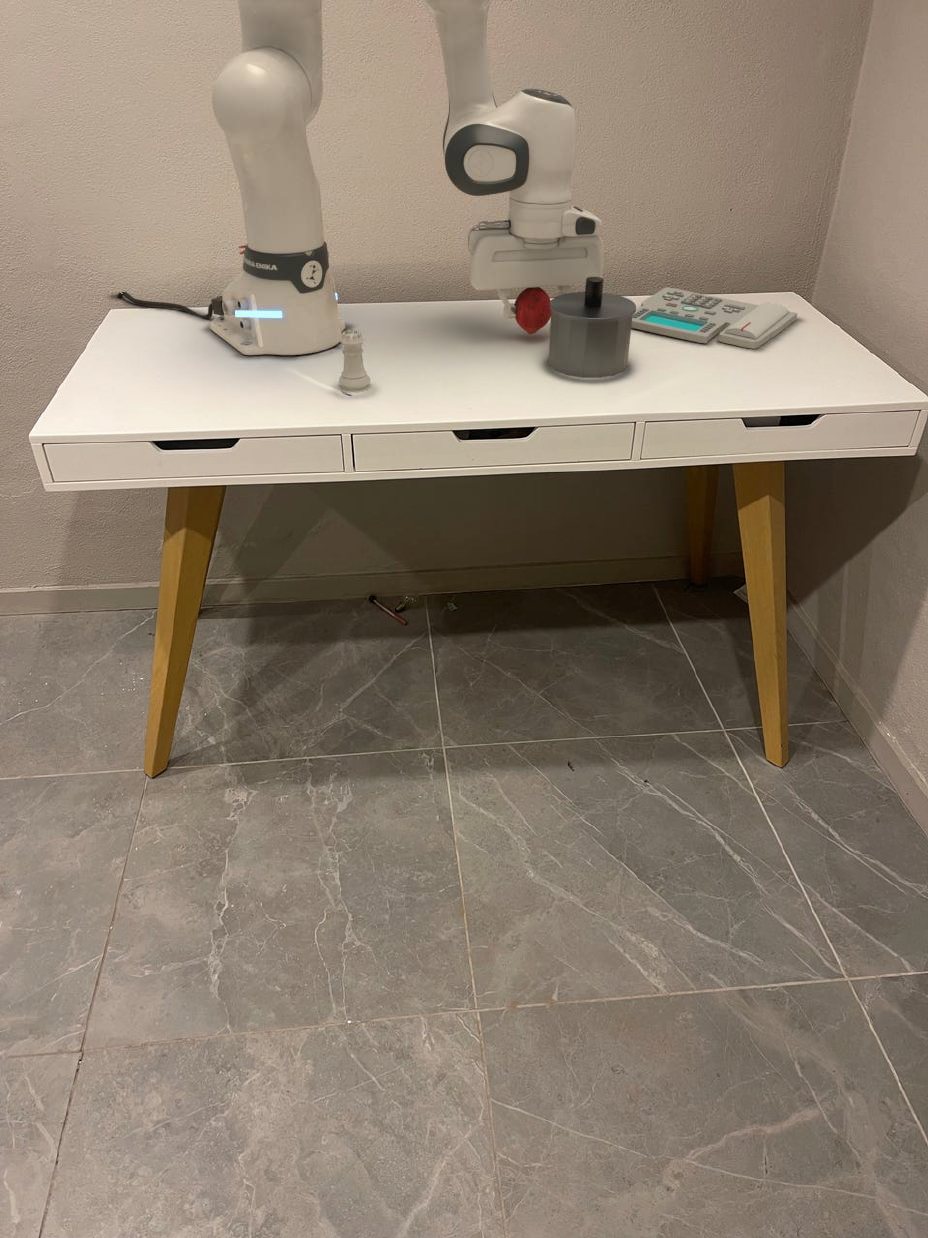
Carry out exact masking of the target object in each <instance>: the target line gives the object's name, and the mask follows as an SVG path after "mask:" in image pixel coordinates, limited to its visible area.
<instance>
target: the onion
mask: <svg viewBox="0 0 928 1238" xmlns="http://www.w3.org/2000/svg"><path fill="white" fill-rule="evenodd" d="M551 300H552V299H551V297H550V296H549V294H548V293H547V292H546V290H545V289H543V288H542V287H534V288H524V289H523V290H522V291H521V292H519V294H518V296H517V297H516V299H515V300H514V303H513V304H514V305H515V306H516V307H517V309H516V318H514V319H515V321H516V323H517V325H518V326H519V327H520V328H521V329H522V330H524V332H526V333H528V334H529V335H534V334H536V333H537V332H538V331H539V330H541V329H542V328H544V327H545V326H546V325H547V324H548V323H549V321H551V309H550V302H551Z"/></svg>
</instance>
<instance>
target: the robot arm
mask: <svg viewBox="0 0 928 1238" xmlns="http://www.w3.org/2000/svg"><path fill="white" fill-rule="evenodd" d="M491 1H492V0H422V2H423V5H424V6H425V8H426V9H427V11H428V13H429V14H430V17H431V19H432V21H433V23H434V26H435V29H436V31H437V34H438V38H439V41H440V46H441V52H442V59H443V66H444V73H445V80H446V88H447V95H448V115H447V119H446V122H445V126H444V130H443V135H442V152H443V157H444V167H445V171H446V174H447V176H448V178H449V181H451V184H453V186H454V187H456V188H457V190H459V191H461V193H464V194H466V195H469V196H473V197H485V196H491V195H498V194H502V193H507V192H509V193H508V211H507V212H508V215H507V219H504V220H494V221H493V220H492V221H488V220H483V221H478V223H477V224H476V225H474V226H472V227H471V229H469V232H468V234H467V249H468V251H469V255H468V262H467V273H466V278H467V282H468V283H469V284H470V286H471V287H472V288H473V289H474V290H476V291H494V290H495V291H496V293H497V295H498V297H499V298H500V300H501V302H502V304H503V317H504V318H505V319H515V318H516V309H517V307H516V306H515V305H514V304H515V303H513V302H512V303H510V300H509V299H508V297H510V296H511V290H512V289H513V290H514V289H526V288H534V287H540V288H548V287H549V288H550V287H551V288H553V287H557V289H558V290H559V292H558V293H557V296H560V295H563V294H568V293H572V292H571V291H572V286H586V278H588V277H600V278H603V277H604V270H605V245H604V241H603V240H602V238H601V237H600V236H599V235H600V234H601V232H602V229H603V221H602V220H601V219H600V218H599V217H598V216H597V215H595V214H594V213H592V212H590V211H588V210H586V209H584V208H581V207H578V206H575V205H572V202H573V201H572V200H573V193H572V187H571V179H572V174H573V171H574V169H575V165H576V149H577V118H576V112H575V111H576V110H575V109H574V107H573V105H572V104H571V102H570V101H569V100H567V99H566V98H565V97H564V96H562V95H561V94H557V93H555V92H552V91H548V90H543V89H539V88H525V89H522V90H520V91H519V93H518V94H517V95H515V96H513V97H512V98H511V99H509V100H508V101H506V102H505V103H503V104H501V105H499V106H497V103H496V100H495V95H494V91H493V84H492V75H491V65H490V57H489V49H488V48H489V47H488V37H487V36H488V35H487V34H488V33H487V30H488V29H487V26H488V17H489V10H490V6H491ZM237 4H238V11H239V20H240V31H241V53H239V54H237V55H235V56H233V57H232V58H231V59H230V60H228V61H227V62H226V63H225V65H224V66H223V68H222V69H221V70H220V72H219V74H218V76H217V78H216V80H215V83H214V85H213V88H212V96H211V101H212V102H211V104H212V110H213V115H214V118H215V119H216V121H217V123H218V125H219V127H220V129H221V130H222V131H223V133H224V137H225V140H226V143H227V147H228V151H229V155H230V158H231V161H232V164H233V168H234V171H235V174H236V178H237V182H238V187H239V191H240V197H241V204H242V213H243V220H244V229H245V236H246V237H245V238H246V244H244V245H240V246H238V249H243V250H241V251H240V252H238V254H239V255H243V259H242V271H240V273H239V274H238V275H237V276H236V277H235V278H234V279H232V281H231V282H230V283H229V284H228V285H227V286H226V287H225V288H224V290H223V292H222V295H219V296H217V297H214V298H211V302H210V304H209V305H208V307H207V313H206V314H199V313H197V312H195V311H194V310H192V309H191V308H189V307H187V306H184V305H182V304H178V303H174V302H173V303H171V302H164V301H153V300H142V299H139V298H135V297H133V296H132V295H131V294H130V293H128V292H127V291H125V292H122V293H123V294H121V293H120V291H119V292H118V293H117V295H116V298H117V299H122V298H123V296H124V297H125V298H126V299H127V300H128V301H130V302H131V303H133V304H135V305H142V306H147V307H158V308H159V307H160V308H168V309H175V310H180V311H183V312H185V313H187V314H188V315H191V316H194V317H197V318H200V319H203V320H209V319H211V318H212V316H213V315H217V316H219V317H216V318H214V319H213V320H211V321H210V322H209V329H210V330H211V331H212V332H214V333H215V334H216V335H217V336H219V337H220V338H221V339H223V340H224V341H225V342H227V343H228V344H229V345H230V346H232V347H233V348H235V349H236V350H237V351H238V352H240V353H241V354H242V355H246V356H259V355H278V356H296V355H297V356H298V355H307V354H314V353H318V352H322V351H326V350H329V349H331V348H333V347H336V346H337V345H338V344H340V343H341V342H340V339H341V337H342V332H344V330H345V329H346V321H345V320H344V319H343V318H341V316H340V309H339V304H338V299H339V298H338V293H337V292H336V285H335V280H334V277H333V276H332V275H331V274H330V273H329V272H328V270H329V269H330V261H329V258H330V252H329V250H328V243H327V241H325V238H324V225H323V224H324V223H323V212H322V210H323V209H322V198H321V197H322V196H321V188H320V187H321V186H320V183H319V180H318V179H317V177H316V173H315V170H314V166H313V162H312V158H311V157H312V156H311V152H310V148H309V143H308V137H307V126H308V125H309V124H311V122H312V121H313V120H315V118H316V116H317V114H318V112H319V111H320V107H321V105H322V100H323V92H324V84H323V83H324V82H323V59H324V57H323V52H324V51H323V21H322V20H323V19H322V17H323V15H322V14H323V13H322V11H323V10H322V9H323V0H237ZM557 296H556V297H557Z"/></svg>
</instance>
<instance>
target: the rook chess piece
mask: <svg viewBox="0 0 928 1238" xmlns="http://www.w3.org/2000/svg"><path fill="white" fill-rule="evenodd" d="M351 331H352V330H351V329H347V330H346V331H344V330H343V331H342V332H341V333H342V337H341V339H340V342H339V343H341V344H342V346H343V349H342V350H341V352H342V354H343V370H342V372H341V375H340V376H339V380H338V383H339V384H340V385H339V386H338V387H339V390H340V392H341V393H342V394H343V395H346V396H350V397H353V395H352V394H357V393H358V394H359V393H364V392H367V391H369V390H371V386H372V385H371V384H370V383H371V377H370V376H369V375H368V372H367V371H366V369H365V365H364V360H363V353H364V350H363V348H362V345H363V343H364V342H365V338H364V337H363V335H362V332H361V330H359V331H358V329H353V332H351Z"/></svg>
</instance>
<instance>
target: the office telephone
mask: <svg viewBox="0 0 928 1238" xmlns="http://www.w3.org/2000/svg"><path fill="white" fill-rule="evenodd" d="M797 318H798V313H797V312H794V311H790V310H789V309H788V308H787V307H786V306H784V305H783V304H779V303H776V302H763V303H760V304H754V303H748V302H744V301H739V300H733V299H729V298H724V297H718V296H714V295H708V294H704V293H698V292H694V291H689V290H686V289H685V290H684V289H680V288H675V287H670V286H666V287H663V288H661V289H660V290H658V291H657V292H656V293H654V294H652V295H651V296H649V297H647V298H646V299H644V300H643V301H642V302H641V303H640V307H639V308H636V312H635V313H634V314H633V315H632V325H631V329H636V330H641V331H645V332H650V333H654V334H659V335H663V336H666V337H667V336H668V337H672V338H676V339H680V340H685V341H690V342H694V343H695V342H696V343H700V344H707V343H708V342H709V341H711V339H713V338H714V337H715V336H717V335H718V337H717V338H718V339H717V341H718V342H720V343H724V344H728V345H733V346H737V347H741V348H746V349H750V350H751V349H752V350H753V349H758V348H760V347H762V346H763V345H764V344H765V343H767V342H768V341H769V340H770V339H773V338H774V337H776V336H777V335H778V334H779V333H781V332H782V331H784V330H785V329H786V328H788V327H789V326H790V325H791V324H792V323H794V322H796V321H797Z"/></svg>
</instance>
